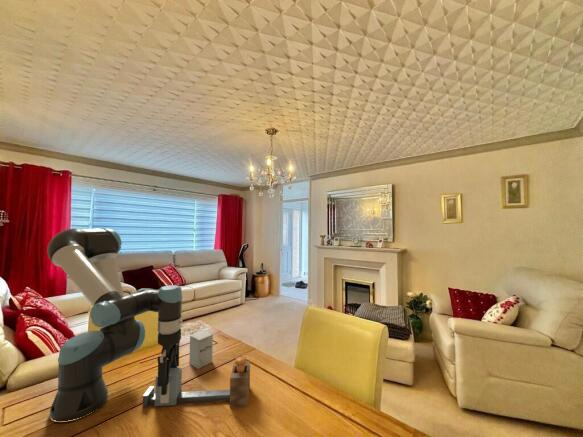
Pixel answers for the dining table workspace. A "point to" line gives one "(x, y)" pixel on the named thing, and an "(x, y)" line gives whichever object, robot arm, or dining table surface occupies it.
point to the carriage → (175, 387)
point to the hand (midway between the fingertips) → (168, 396)
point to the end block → (239, 386)
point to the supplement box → (201, 349)
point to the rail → (189, 396)
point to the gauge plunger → (240, 364)
